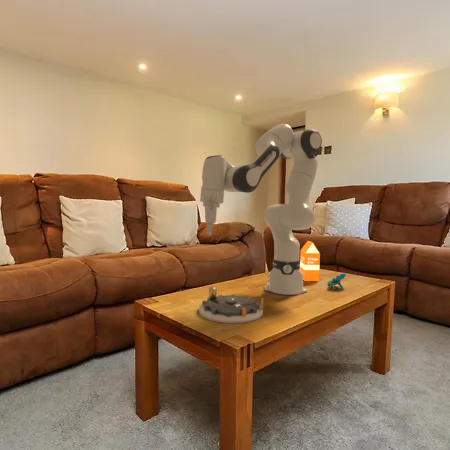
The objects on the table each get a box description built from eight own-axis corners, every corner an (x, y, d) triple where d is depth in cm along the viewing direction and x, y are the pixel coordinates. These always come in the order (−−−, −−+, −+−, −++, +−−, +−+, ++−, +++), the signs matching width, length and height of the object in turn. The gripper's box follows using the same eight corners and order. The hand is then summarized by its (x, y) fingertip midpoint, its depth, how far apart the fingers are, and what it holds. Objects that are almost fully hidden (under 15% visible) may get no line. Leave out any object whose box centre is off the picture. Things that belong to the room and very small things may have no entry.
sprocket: (207, 297, 131) (207, 283, 131) (259, 299, 129) (260, 285, 128) (197, 314, 110) (197, 298, 110) (259, 318, 108) (260, 301, 108)
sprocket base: (204, 300, 132) (204, 286, 132) (262, 303, 130) (263, 289, 130) (193, 321, 109) (193, 304, 109) (263, 325, 107) (264, 308, 107)
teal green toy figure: (336, 281, 163) (348, 270, 156) (344, 291, 160) (356, 280, 153) (320, 286, 157) (332, 275, 150) (328, 297, 155) (340, 286, 148)
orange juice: (313, 277, 177) (315, 240, 176) (319, 281, 168) (320, 242, 167) (299, 277, 177) (300, 240, 175) (303, 281, 168) (305, 242, 167)
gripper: (221, 197, 115) (218, 237, 116) (219, 199, 136) (216, 233, 136) (203, 196, 115) (200, 235, 115) (203, 198, 135) (201, 232, 136)
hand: (209, 234), depth 126 cm, fingers open, 8 cm apart
